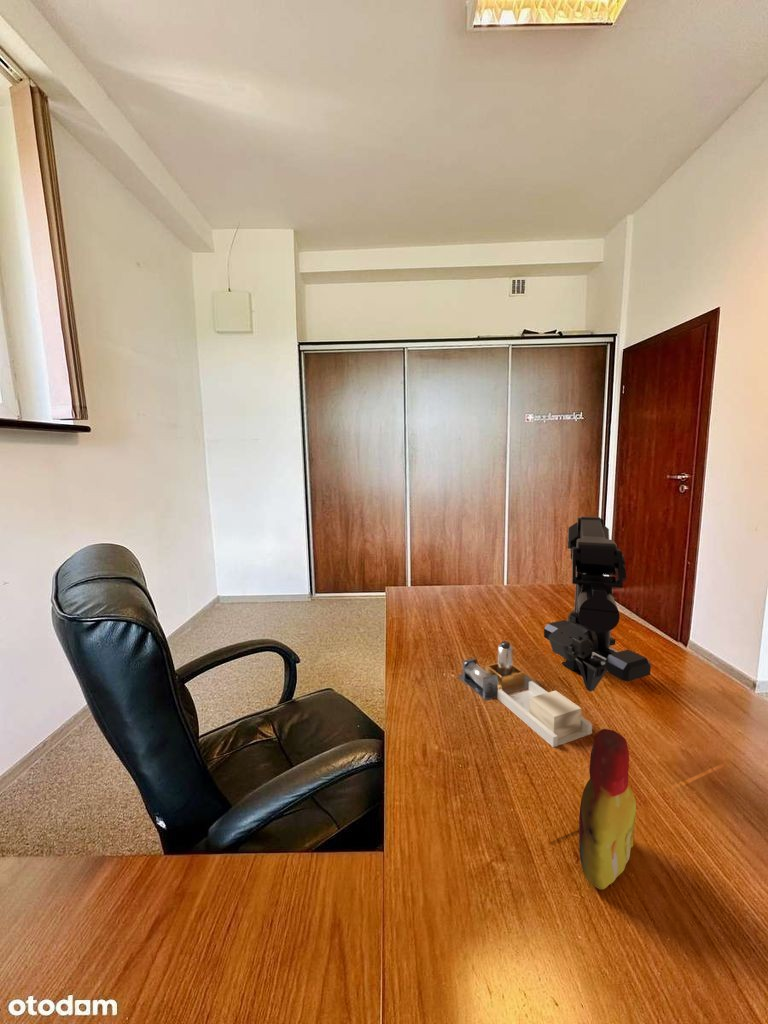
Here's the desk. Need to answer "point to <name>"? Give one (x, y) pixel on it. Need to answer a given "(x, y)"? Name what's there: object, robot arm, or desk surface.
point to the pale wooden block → (556, 713)
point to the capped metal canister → (505, 659)
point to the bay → (535, 723)
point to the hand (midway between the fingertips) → (590, 690)
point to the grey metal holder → (493, 679)
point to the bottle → (606, 811)
